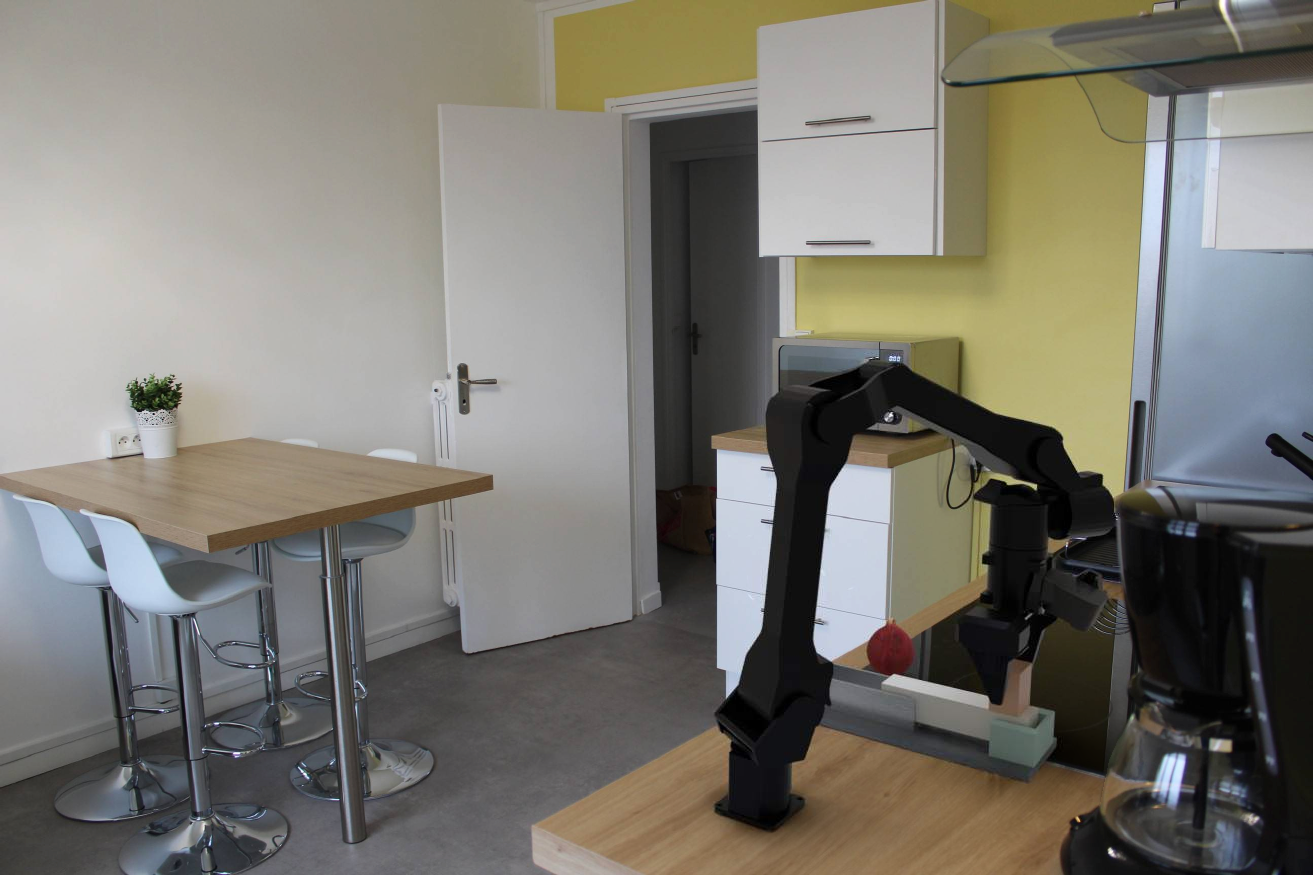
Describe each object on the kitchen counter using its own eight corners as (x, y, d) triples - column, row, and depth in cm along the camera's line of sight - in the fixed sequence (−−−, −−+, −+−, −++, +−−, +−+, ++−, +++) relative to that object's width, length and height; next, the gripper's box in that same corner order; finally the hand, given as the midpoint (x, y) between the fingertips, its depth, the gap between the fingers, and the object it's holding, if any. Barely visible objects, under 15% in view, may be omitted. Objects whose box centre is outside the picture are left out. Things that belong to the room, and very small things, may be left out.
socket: (1033, 767, 101) (1035, 734, 101) (988, 755, 104) (990, 723, 103) (1052, 742, 107) (1054, 711, 106) (1009, 731, 109) (1011, 701, 109)
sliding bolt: (1026, 751, 103) (1030, 676, 102) (879, 713, 112) (881, 644, 111) (1037, 737, 106) (1041, 664, 105) (893, 701, 116) (896, 634, 114)
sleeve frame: (1028, 782, 100) (1030, 739, 99) (796, 717, 115) (796, 680, 115) (1056, 746, 108) (1058, 706, 107) (835, 690, 123) (836, 655, 123)
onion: (918, 689, 124) (920, 626, 122) (870, 689, 124) (872, 626, 123) (907, 671, 129) (909, 611, 128) (862, 671, 130) (864, 611, 128)
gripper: (1077, 578, 91) (1067, 742, 93) (1123, 537, 106) (1114, 679, 108) (956, 558, 97) (949, 712, 100) (1015, 523, 112) (1008, 657, 115)
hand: (1010, 689), depth 105 cm, fingers open, 9 cm apart
